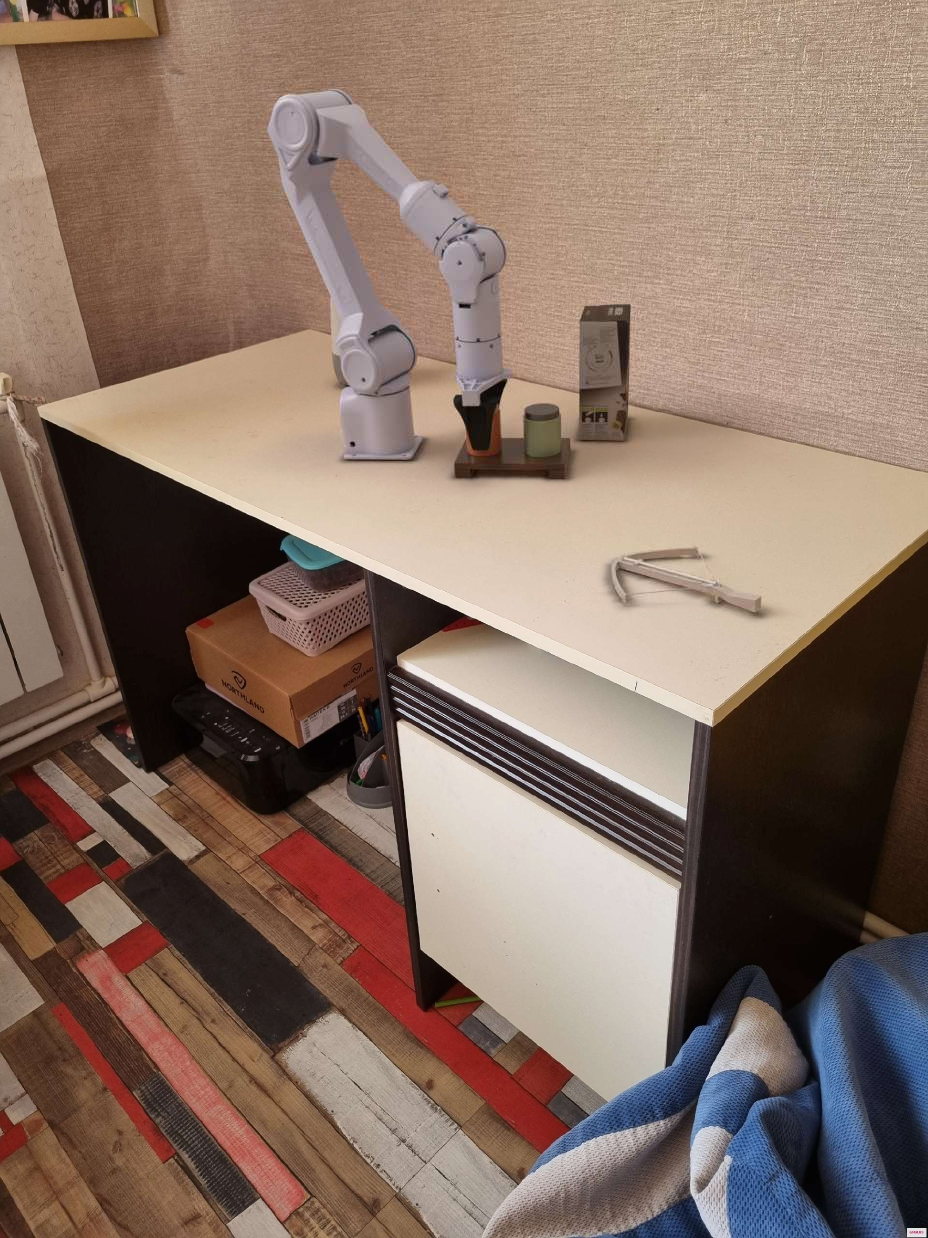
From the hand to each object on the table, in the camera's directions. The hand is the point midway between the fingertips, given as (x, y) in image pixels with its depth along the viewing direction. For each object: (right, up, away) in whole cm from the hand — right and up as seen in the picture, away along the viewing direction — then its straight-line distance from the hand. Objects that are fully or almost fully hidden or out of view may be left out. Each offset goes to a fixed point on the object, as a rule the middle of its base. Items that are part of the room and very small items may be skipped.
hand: (483, 441), depth 122 cm
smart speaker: (-19, +16, +36) cm, 44 cm away
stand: (+4, -3, +1) cm, 5 cm away
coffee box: (+17, +3, +10) cm, 20 cm away
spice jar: (0, -1, +1) cm, 1 cm away
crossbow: (+19, -20, -29) cm, 40 cm away
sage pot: (+7, -1, -1) cm, 8 cm away
